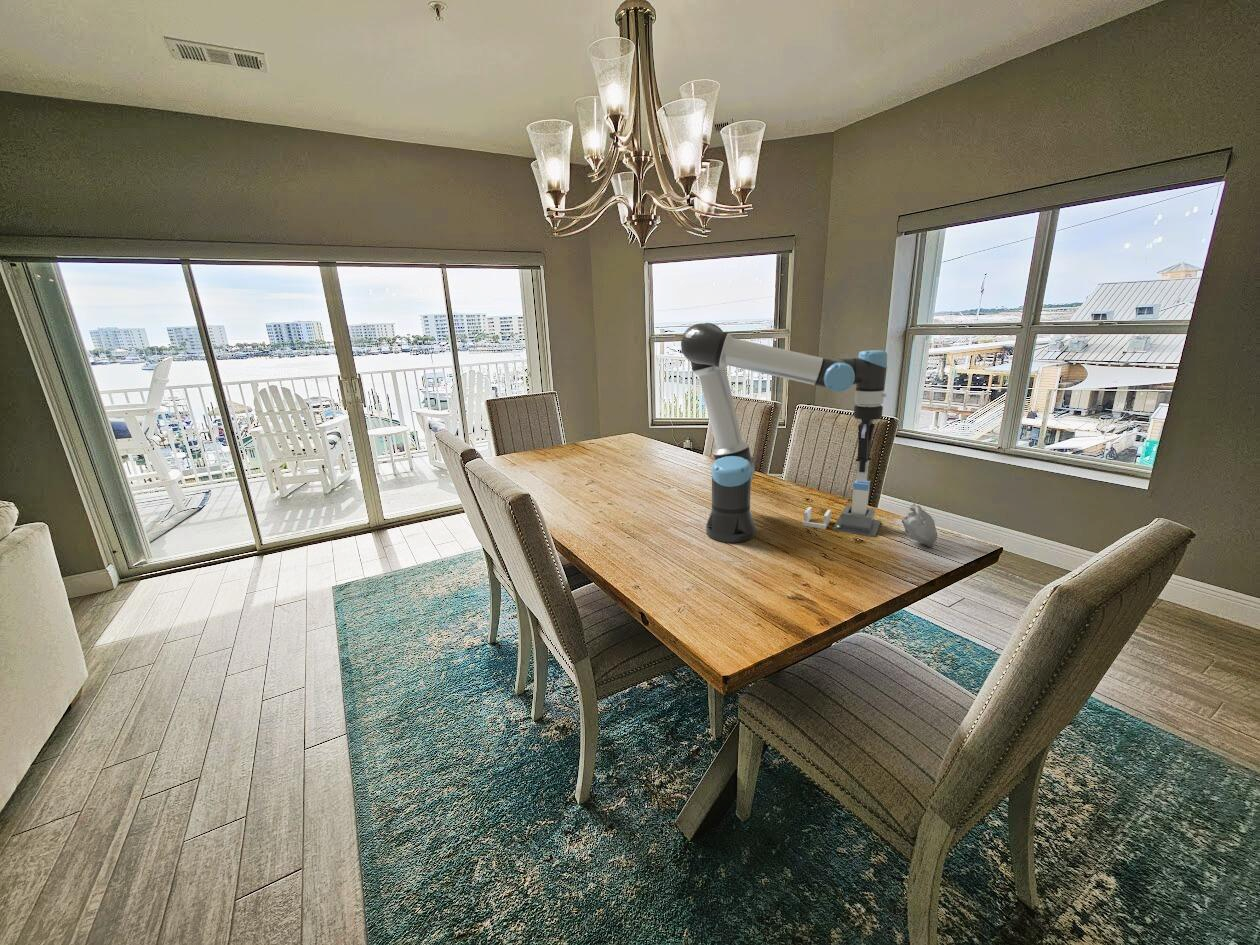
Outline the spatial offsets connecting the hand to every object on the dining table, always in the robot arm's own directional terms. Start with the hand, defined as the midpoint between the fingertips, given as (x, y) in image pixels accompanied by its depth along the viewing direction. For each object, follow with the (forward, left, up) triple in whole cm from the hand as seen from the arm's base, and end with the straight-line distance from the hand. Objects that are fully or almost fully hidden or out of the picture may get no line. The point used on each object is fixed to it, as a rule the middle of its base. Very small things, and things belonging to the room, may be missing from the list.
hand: (861, 481), depth 147 cm
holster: (-12, -3, -15) cm, 19 cm away
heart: (+17, -7, -15) cm, 24 cm away
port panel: (0, 0, -15) cm, 15 cm away
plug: (0, 0, -14) cm, 14 cm away
